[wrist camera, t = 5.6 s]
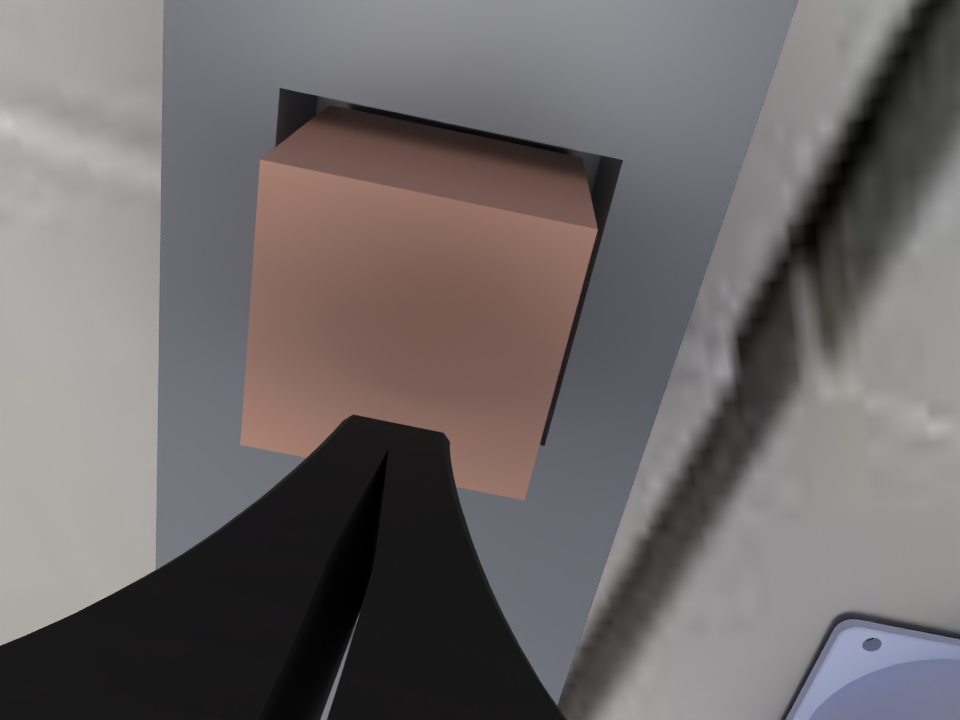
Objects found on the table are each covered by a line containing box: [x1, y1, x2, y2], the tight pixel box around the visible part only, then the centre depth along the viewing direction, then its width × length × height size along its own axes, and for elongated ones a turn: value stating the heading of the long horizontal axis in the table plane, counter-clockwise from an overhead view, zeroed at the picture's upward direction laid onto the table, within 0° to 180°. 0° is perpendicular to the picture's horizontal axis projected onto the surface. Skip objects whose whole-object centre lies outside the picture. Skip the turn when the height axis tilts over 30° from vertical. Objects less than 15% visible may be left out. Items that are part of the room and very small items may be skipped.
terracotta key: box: [240, 105, 598, 500], centre depth 15 cm, size 5×5×4 cm
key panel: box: [156, 0, 798, 705], centre depth 20 cm, size 10×26×4 cm, turn 169°
